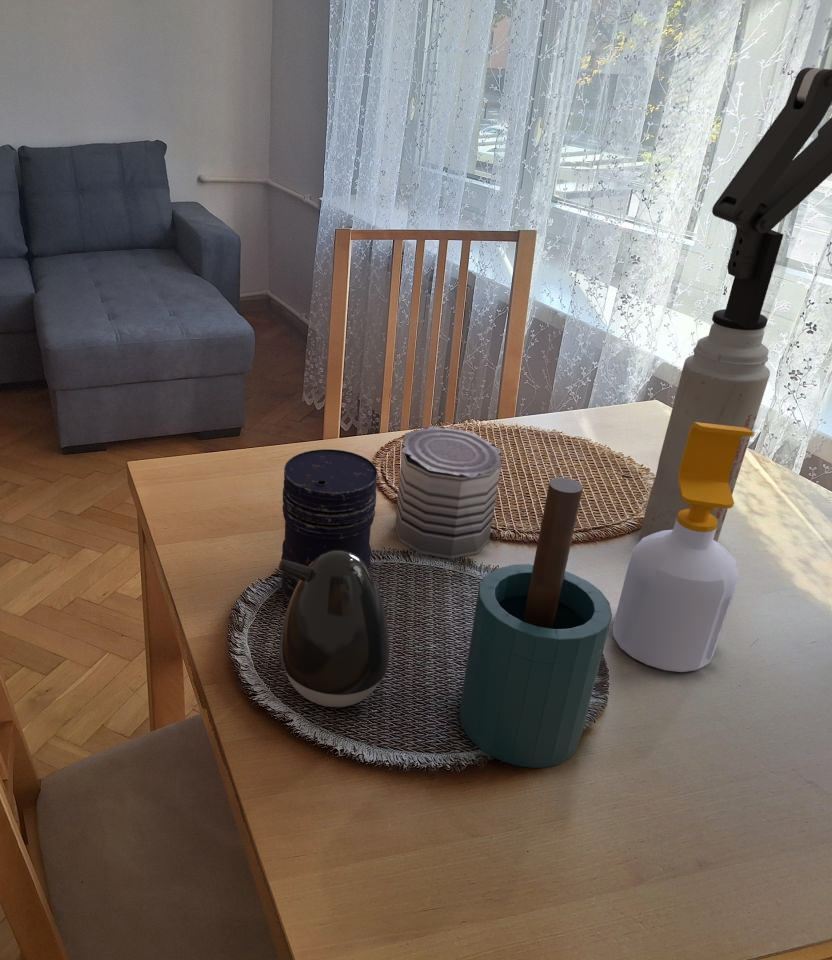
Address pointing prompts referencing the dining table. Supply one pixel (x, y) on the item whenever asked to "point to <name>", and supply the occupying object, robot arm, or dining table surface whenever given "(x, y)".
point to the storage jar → (327, 507)
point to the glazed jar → (532, 669)
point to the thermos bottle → (710, 410)
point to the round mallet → (552, 551)
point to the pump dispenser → (334, 630)
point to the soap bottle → (684, 565)
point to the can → (446, 492)
